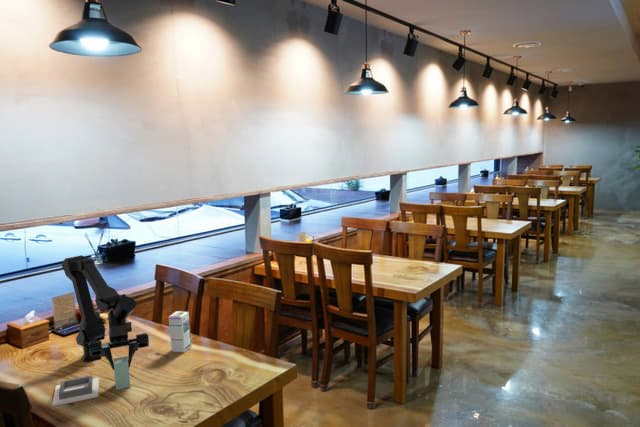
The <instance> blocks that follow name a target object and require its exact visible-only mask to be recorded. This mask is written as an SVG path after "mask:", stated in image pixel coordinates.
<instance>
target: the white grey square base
mask: <svg viewBox="0 0 640 427" xmlns="http://www.w3.org/2000/svg"><path fill="white" fill-rule="evenodd" d="M99 384H100V377H94V378H93V375H92V374H91V375H86V376H81V377H76V378H71V379H65V380H61V381H60V384H58V385H55V388H54V389H55V390H54V394H53V399H52V407H56V406H61V405H66V404H70V403H75V402H80V401H84V400H85V401H86V400H89V399H93V398H94V399H95V398H98V397H99V390H100V386H99Z"/></svg>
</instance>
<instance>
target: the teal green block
mask: <svg viewBox="0 0 640 427" xmlns="http://www.w3.org/2000/svg"><path fill="white" fill-rule="evenodd" d="M113 363H114V370H113V372H114V380H115V381H114V382H115V390H116V391H118V390H121V389H128V388H131V380H130V378H131V376H130V367H129V365H128V355H127V356H122V357H121V356H120V357H116V358H113Z"/></svg>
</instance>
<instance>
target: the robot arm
mask: <svg viewBox="0 0 640 427" xmlns="http://www.w3.org/2000/svg"><path fill="white" fill-rule="evenodd" d="M61 268H62V270H63V271H64V274H65V277H67V278H68V280H70V281H71V282H72V285H73V286H72V287H73V290H74V294H75V298H76V301H77V305H78V309H79V314H80V317H81V320H80V322H79V325H78V330H79V332H78V334H77V336H76V338H75V341H76V344H77V345H78V346H81V347H82V349H83V355H82V362H88V361H95V360H100V359H102V358H105V359H106V360H107V362H108V363H109V365H110V367H111V369H112V371H114V358H113V356H112V355H113V354H112V351H111V350H112V349H116V348H121V347H122V348H123V347H127V346H128V355H127V356H128V365H129V368H131V365H132V361H133V357H134V355H135V354H136V352H137V351H139V349H142V348H148V347H149V346H150V339H149V334H148V332H144V333H139V334H135V338H131V339H129V333H131V332H133V327H132V326H133V325H132V321H128V322H127V318H129V317H130V316H131V314H132V313H133V311H134V310H135V308H136V306H137V302H136V301H135V300H134V299H133V298H132V297H130V296H127V295H126V293H123V294H119V293H118V291H117V290H116V289H115V288H114V287H111V286H109V284H107V282H106V280H105V279H104V277H103V276H102V275H101V273H100V271H99V270H98V267H97V266H96V265H95V260H94V259H93V258H91V257H85V256H84V255H83V254H82V255H76V256H71V257H66V258H64V259H63V261H62V263H61ZM88 284H89V285H88ZM89 286H90V288H91V289H92V291H93V293H94V295H95V301H94V302H95V304H96V307H97V309H98V310H99V311H100V312H103V313H105V312H108V311H109V313H108V314H107V318H106V319H107V320H108V338H109V339H108V340H109V342H103V343H102V341H103V340H105V337H106V329H107V328H106V326H105V324H104V319H103V318H102V317H99V316H98V315H97V314H96V310H95V307H94V304H93V300H92V296H91V292H90V288H89Z"/></svg>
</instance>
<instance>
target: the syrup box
mask: <svg viewBox="0 0 640 427" xmlns="http://www.w3.org/2000/svg"><path fill="white" fill-rule="evenodd" d="M189 314H190V313H189V311H183V310H177V311H174V312H173V313H172V314H171V315H169V316H168V325H169V326H168V327H169V334H170V336H169V338H170V347H171V352H174V353H185V352H187V351H188V350H189V349H190V348H191V347H192V338H191V336H192V335H191V334H192V333H191V325H190V315H189Z"/></svg>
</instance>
